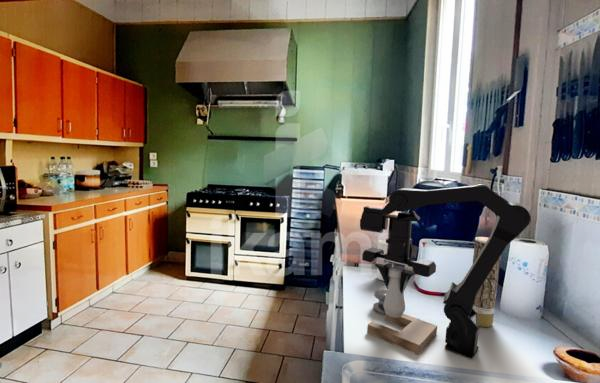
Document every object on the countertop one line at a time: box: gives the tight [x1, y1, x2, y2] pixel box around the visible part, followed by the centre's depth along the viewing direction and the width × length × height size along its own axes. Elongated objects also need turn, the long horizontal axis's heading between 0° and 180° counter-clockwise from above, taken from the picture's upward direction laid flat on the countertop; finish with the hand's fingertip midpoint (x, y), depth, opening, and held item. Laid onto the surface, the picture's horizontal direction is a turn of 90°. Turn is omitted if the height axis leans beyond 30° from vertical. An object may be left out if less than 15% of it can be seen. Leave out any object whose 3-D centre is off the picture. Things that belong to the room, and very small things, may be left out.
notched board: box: [366, 313, 438, 356], centre depth 90 cm, size 14×13×2 cm
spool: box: [372, 289, 387, 315], centre depth 104 cm, size 7×7×5 cm
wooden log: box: [472, 236, 502, 328], centre depth 98 cm, size 7×7×25 cm
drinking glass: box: [376, 239, 394, 282], centre depth 129 cm, size 7×7×15 cm
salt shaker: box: [383, 266, 406, 318], centre depth 91 cm, size 6×6×13 cm
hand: (395, 291), depth 91 cm, fingers closed on salt shaker, 3 cm apart
